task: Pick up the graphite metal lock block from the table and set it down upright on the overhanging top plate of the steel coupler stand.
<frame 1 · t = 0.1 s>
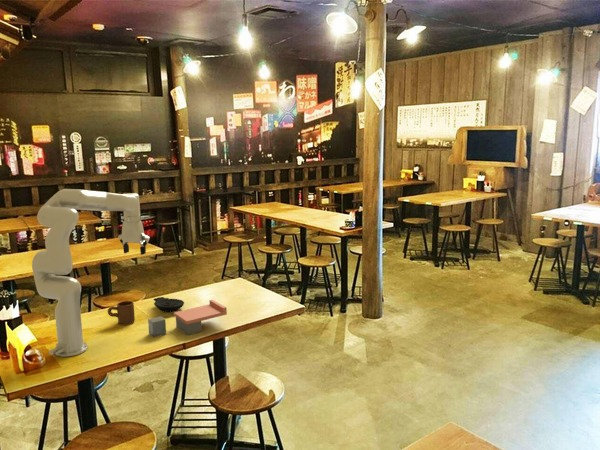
hand: (134, 253, 243), 31 cm above the table, tool pointing down, fingers open, 9 cm apart
lock block: (157, 334, 223), on the table
mug: (121, 323, 236), on the table
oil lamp: (167, 310, 254), on the table
coupler stand: (200, 326, 231), on the table
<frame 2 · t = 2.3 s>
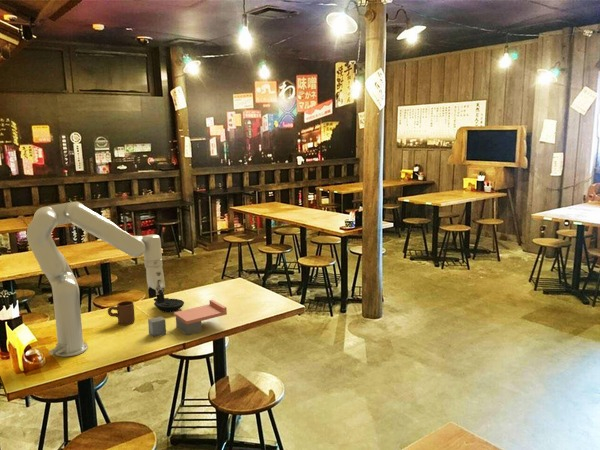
hand: (156, 300, 220), 16 cm above the table, tool pointing down, fingers open, 9 cm apart
nothing on the table moved.
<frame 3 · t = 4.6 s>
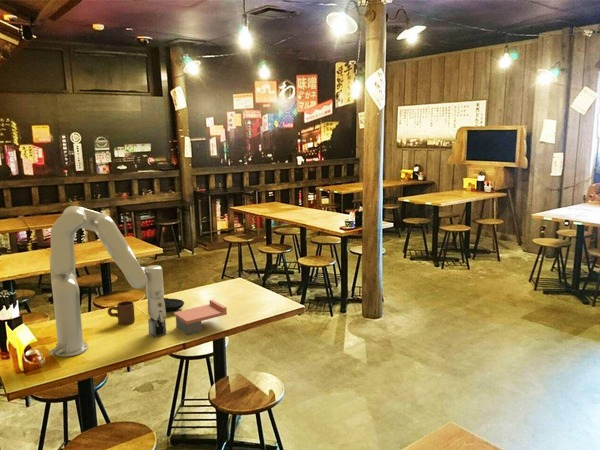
hand: (157, 331, 223), 1 cm above the table, tool pointing down, fingers closed on lock block, 5 cm apart
lock block: (157, 334, 223), on the table, touching gripper
everything else where it was.
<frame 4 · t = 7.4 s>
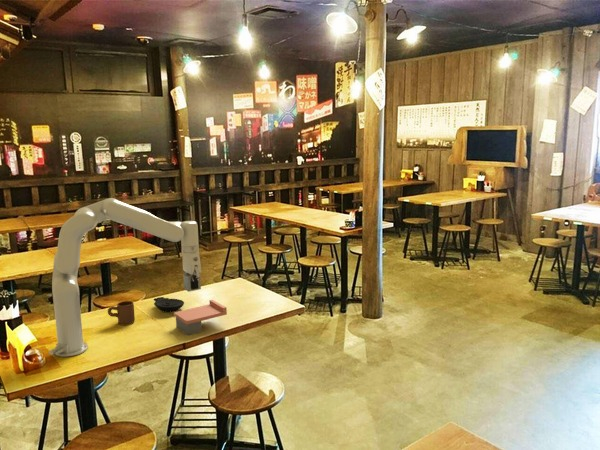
hand: (192, 287, 226), 20 cm above the table, tool pointing down, fingers closed on lock block, 5 cm apart
lock block: (192, 289, 226), point 19 cm above the table, touching gripper
everything else where it was.
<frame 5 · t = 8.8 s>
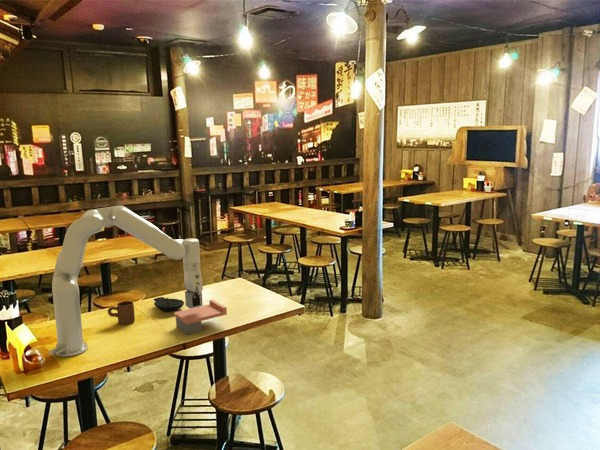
hand: (193, 303, 228), 12 cm above the table, tool pointing down, fingers closed on lock block, 5 cm apart
lock block: (194, 305, 228), point 11 cm above the table, touching gripper
everything else where it was.
when the fingers open (9 cm above the table, at t = 10.1 s): lock block drops 1 cm, resting on coupler stand.
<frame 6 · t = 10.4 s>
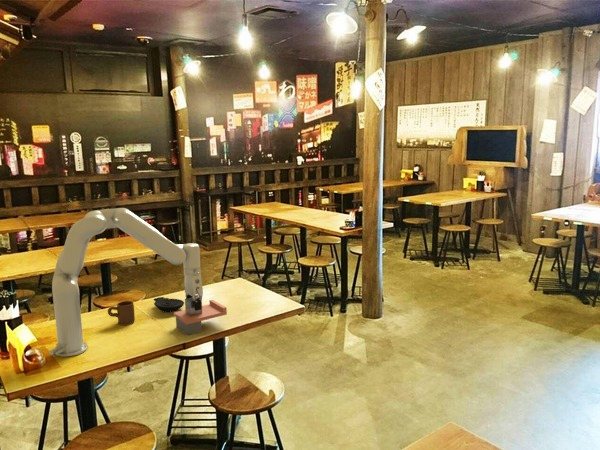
hand: (193, 307, 228), 10 cm above the table, tool pointing down, fingers open, 8 cm apart
lock block: (193, 313, 228), point 7 cm above the table, touching coupler stand
everything else where it was.
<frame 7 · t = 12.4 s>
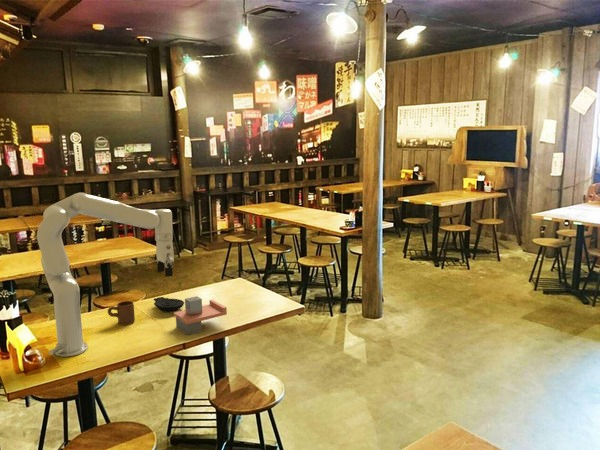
hand: (164, 273, 225), 26 cm above the table, tool pointing down, fingers open, 9 cm apart
nothing on the table moved.
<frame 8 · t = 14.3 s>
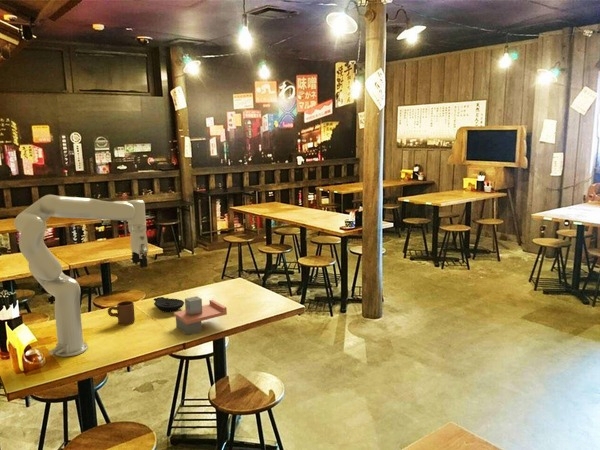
hand: (139, 264, 224), 30 cm above the table, tool pointing down, fingers open, 9 cm apart
nothing on the table moved.
at the end: lock block inside the target area on the coupler stand (1.3 cm from its centre), point 7.0 cm above the coupler stand's base; lock block tilted 0°; the gripper is holding nothing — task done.
